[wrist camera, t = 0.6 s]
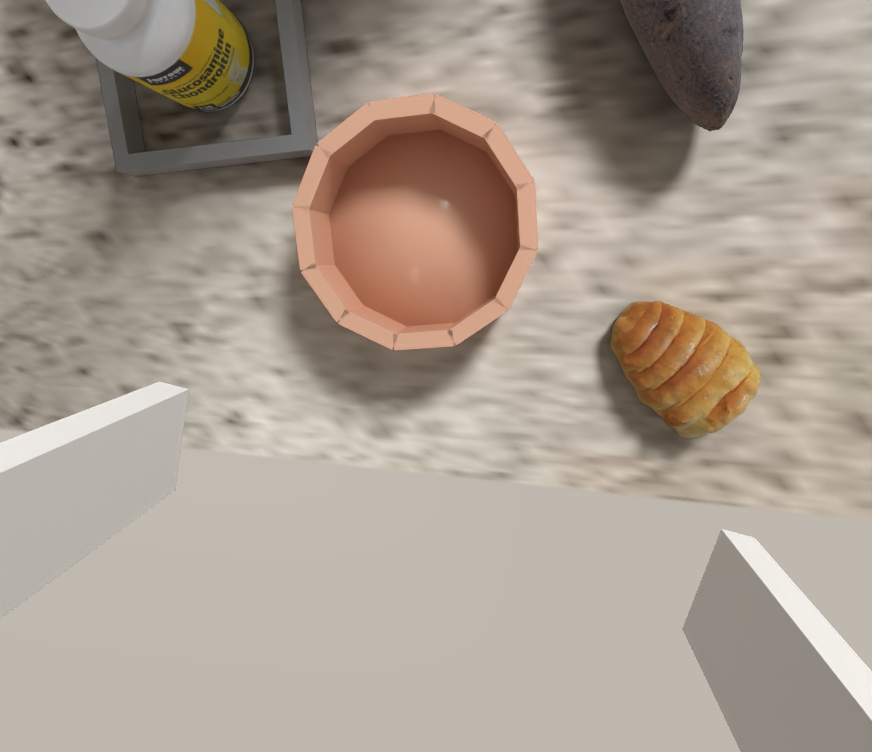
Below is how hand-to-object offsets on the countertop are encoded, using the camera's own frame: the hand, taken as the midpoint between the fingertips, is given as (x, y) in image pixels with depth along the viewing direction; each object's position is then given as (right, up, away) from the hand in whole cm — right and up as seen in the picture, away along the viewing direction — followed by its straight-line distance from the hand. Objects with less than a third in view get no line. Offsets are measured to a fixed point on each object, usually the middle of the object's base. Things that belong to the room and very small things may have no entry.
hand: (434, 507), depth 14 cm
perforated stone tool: (+13, +24, +20) cm, 34 cm away
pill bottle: (-15, +24, +24) cm, 36 cm away
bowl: (-1, +13, +24) cm, 27 cm away
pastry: (+16, +4, +24) cm, 29 cm away
